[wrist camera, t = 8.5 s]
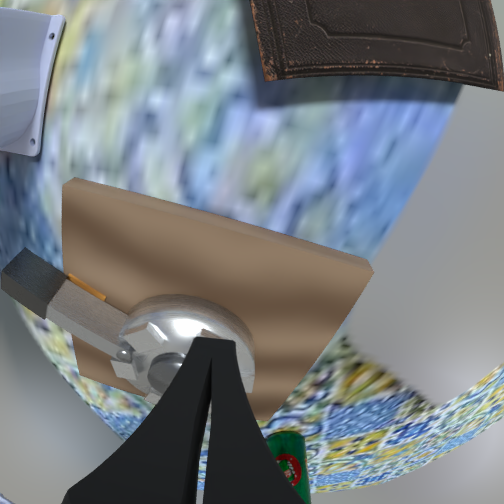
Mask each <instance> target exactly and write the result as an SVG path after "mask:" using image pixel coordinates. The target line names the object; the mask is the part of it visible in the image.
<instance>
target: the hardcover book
mask: <svg viewBox="0 0 504 504" xmlns="http://www.w3.org/2000/svg"><path fill="white" fill-rule="evenodd" d="M250 5H251V9H252V14H253V20H254V25H255V30H256V35H257V40H258V46H259V51H260V57H261V62H262V68H263V74H264V80H265V82H266V81H274V80H283V79H293V78H305V77H320V76H346V75H373V76H399V77H414V78H425V79H434V80H442V81H450V82H457V83H463V84H464V85H470V86H476V87H481V88H486V89H493V90H498V91H504V72H503V63H502V55H501V48H500V41H499V36H498V31H497V25H496V21H495V16H494V12H493V8H492V4H491V0H250Z"/></svg>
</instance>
